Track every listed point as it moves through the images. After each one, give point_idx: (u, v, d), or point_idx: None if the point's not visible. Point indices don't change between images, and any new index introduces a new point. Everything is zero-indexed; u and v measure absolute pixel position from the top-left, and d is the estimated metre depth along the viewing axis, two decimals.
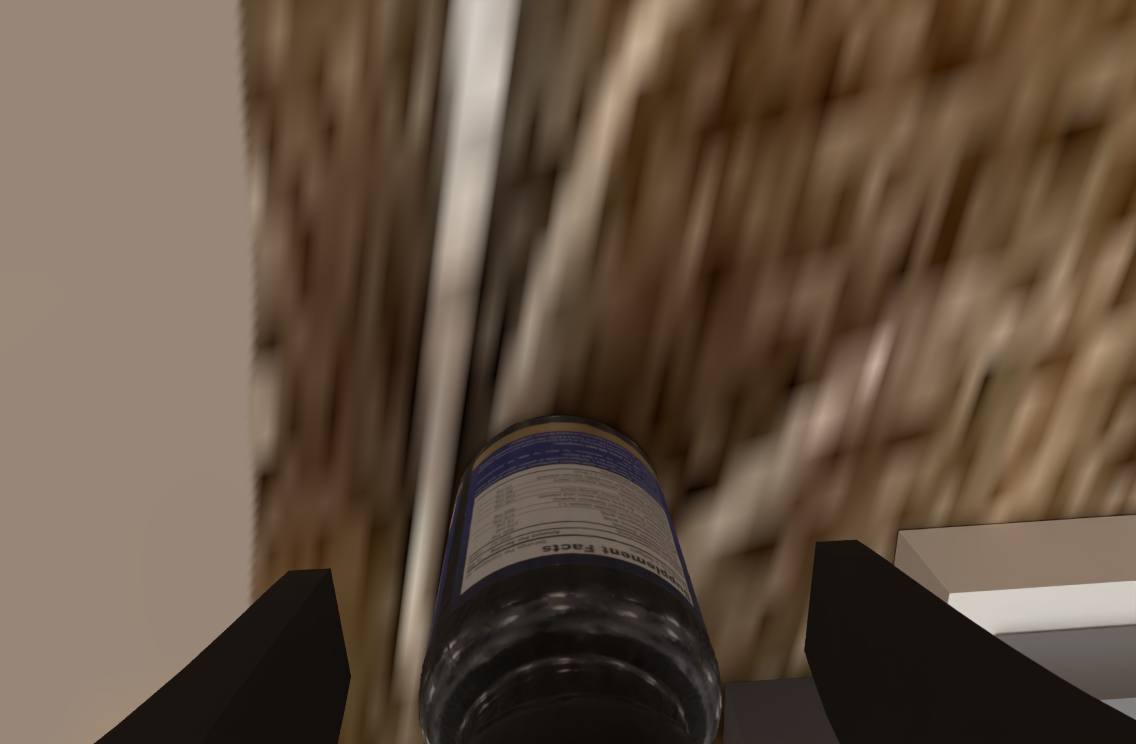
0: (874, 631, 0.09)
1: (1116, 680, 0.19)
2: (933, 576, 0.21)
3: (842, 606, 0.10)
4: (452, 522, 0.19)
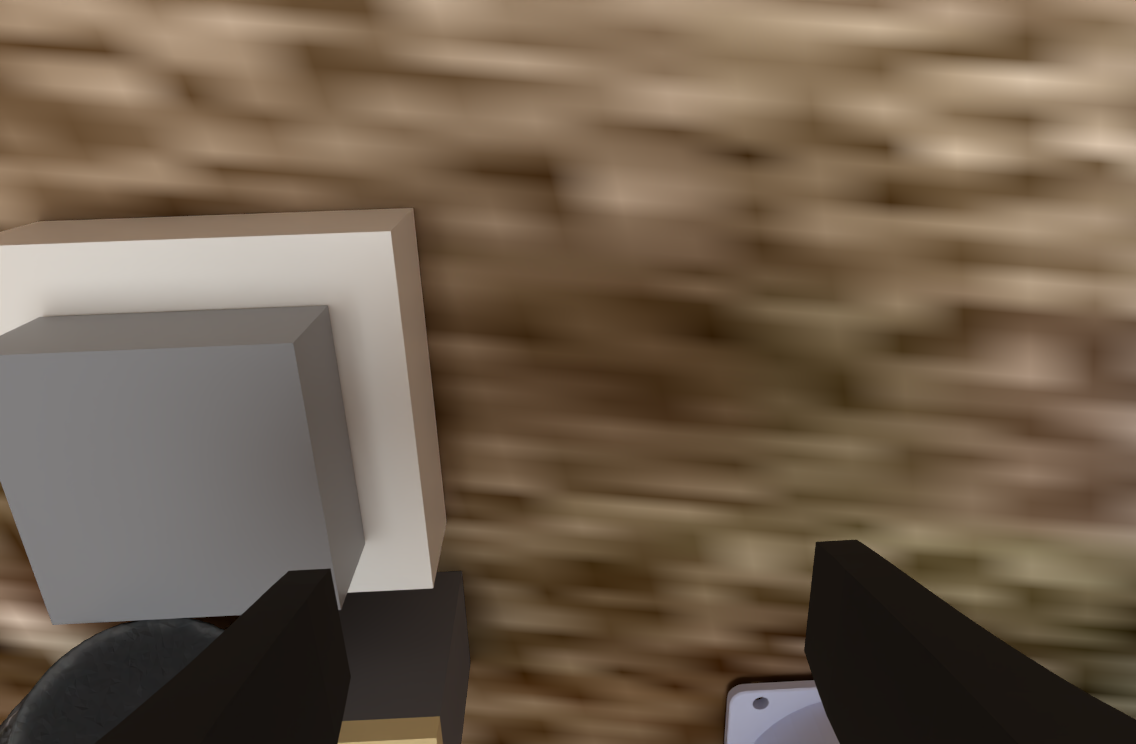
0: (874, 631, 0.09)
1: None
2: None
3: (842, 606, 0.10)
4: None
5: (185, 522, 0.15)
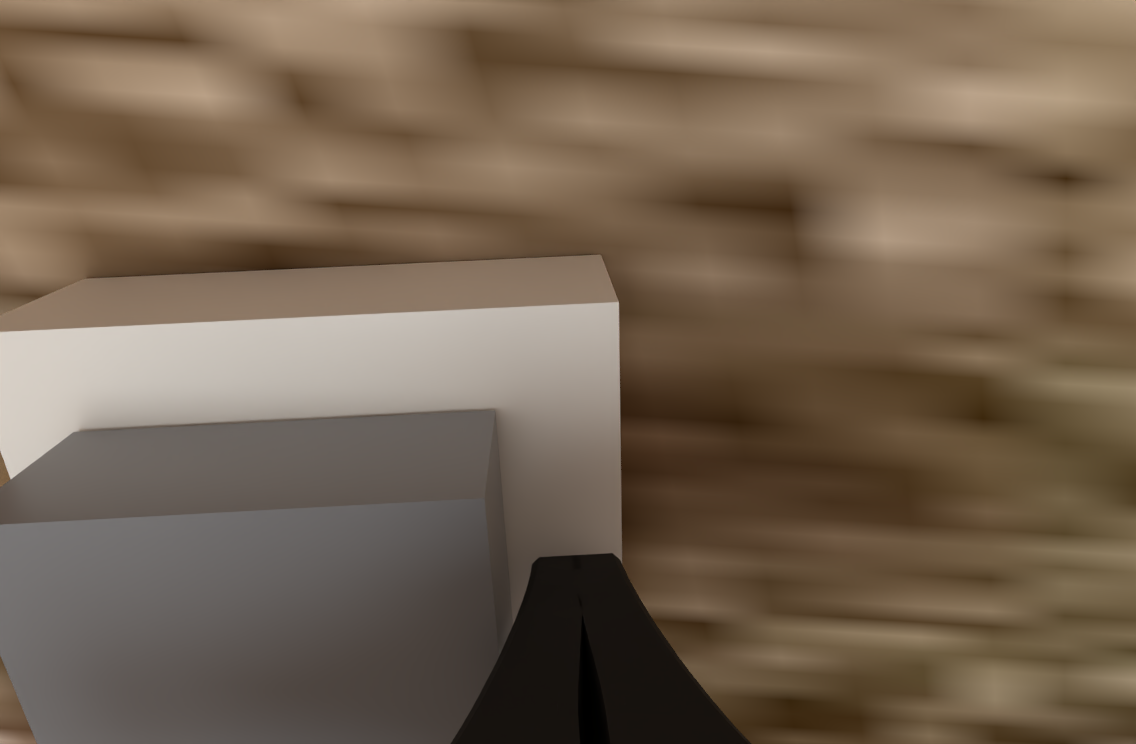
0: (584, 648, 0.09)
1: None
2: None
3: None
4: None
5: None
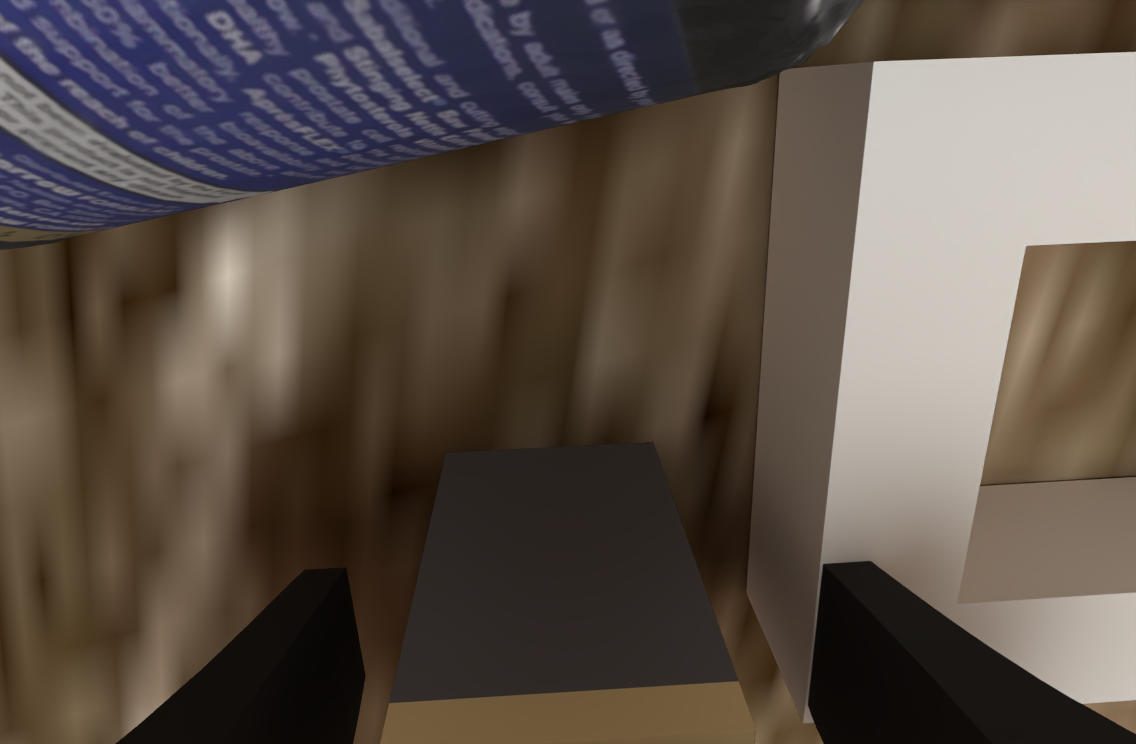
0: (856, 632, 0.09)
1: None
2: (840, 71, 0.08)
3: (826, 607, 0.10)
4: None
5: None
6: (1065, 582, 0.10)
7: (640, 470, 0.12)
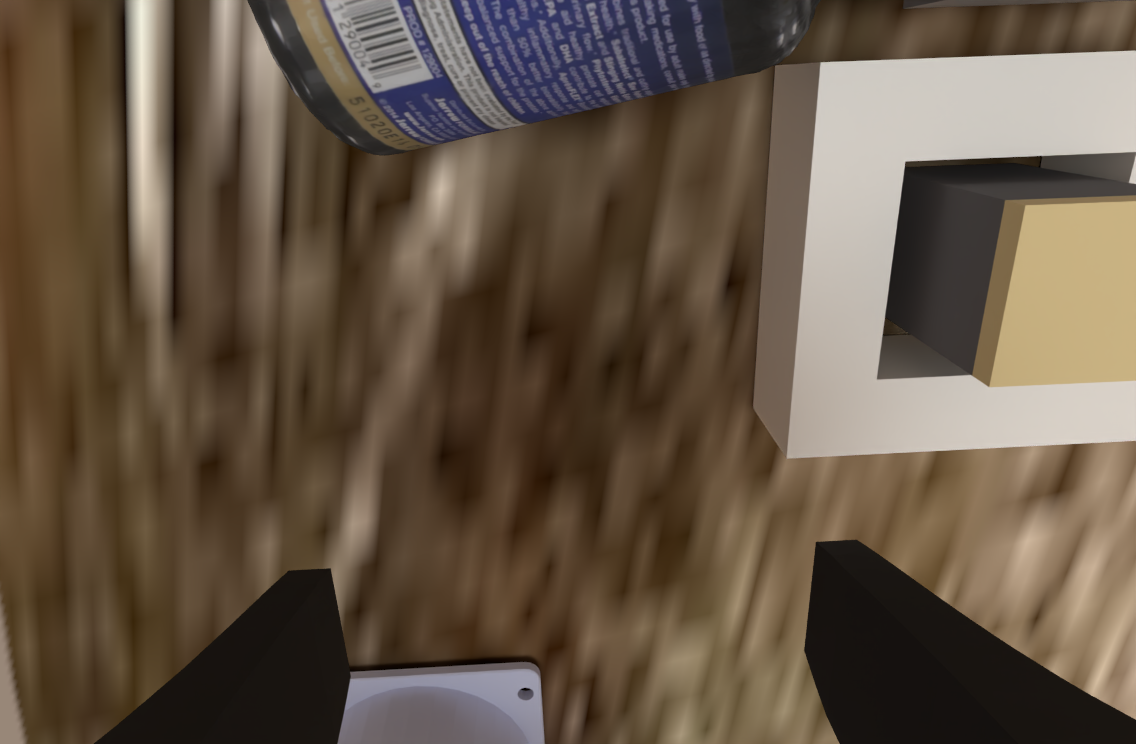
0: (874, 631, 0.09)
1: None
2: (805, 67, 0.15)
3: (842, 606, 0.10)
4: None
5: None
6: (943, 371, 0.18)
7: (1023, 168, 0.18)
